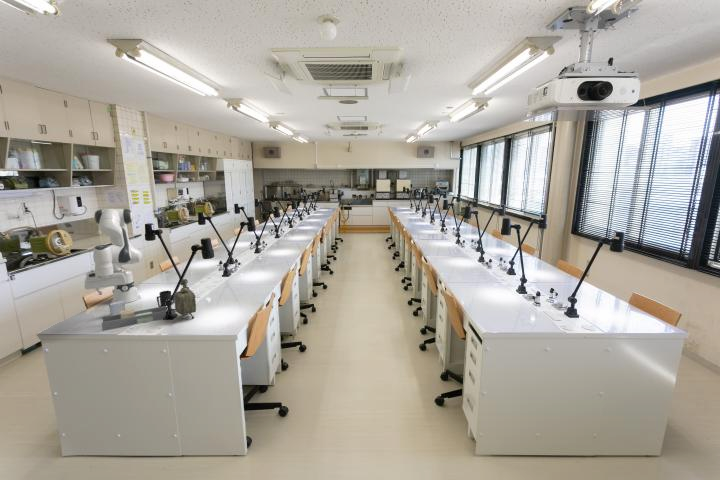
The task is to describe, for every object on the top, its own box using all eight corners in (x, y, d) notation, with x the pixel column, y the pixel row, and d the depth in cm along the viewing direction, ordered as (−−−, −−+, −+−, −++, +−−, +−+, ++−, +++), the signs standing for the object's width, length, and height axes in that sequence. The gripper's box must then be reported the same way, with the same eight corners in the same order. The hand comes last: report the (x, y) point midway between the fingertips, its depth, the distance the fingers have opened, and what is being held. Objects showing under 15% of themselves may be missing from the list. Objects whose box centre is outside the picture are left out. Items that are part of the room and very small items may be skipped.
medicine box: (124, 312, 229) (122, 300, 227) (126, 314, 226) (124, 302, 224) (110, 315, 223) (108, 303, 221) (112, 317, 220) (110, 305, 218)
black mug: (167, 305, 242) (166, 290, 240) (174, 307, 239) (173, 291, 237) (154, 310, 232) (152, 294, 230) (161, 312, 230) (160, 295, 228)
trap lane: (103, 324, 209) (102, 317, 208) (167, 312, 229) (166, 305, 228) (102, 330, 201) (101, 322, 200) (168, 317, 221) (168, 310, 220)
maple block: (121, 318, 212) (120, 311, 211) (134, 315, 216) (133, 309, 215) (121, 320, 208) (120, 314, 207) (134, 318, 212) (134, 311, 211)
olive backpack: (196, 318, 220) (194, 282, 215) (182, 322, 213) (178, 285, 209) (189, 312, 230) (186, 277, 226) (175, 316, 224) (172, 280, 219)
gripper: (125, 268, 210) (127, 289, 212) (83, 273, 198) (86, 295, 200) (125, 270, 205) (127, 291, 207) (82, 275, 193) (85, 298, 195)
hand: (107, 293), depth 204 cm, fingers open, 5 cm apart
